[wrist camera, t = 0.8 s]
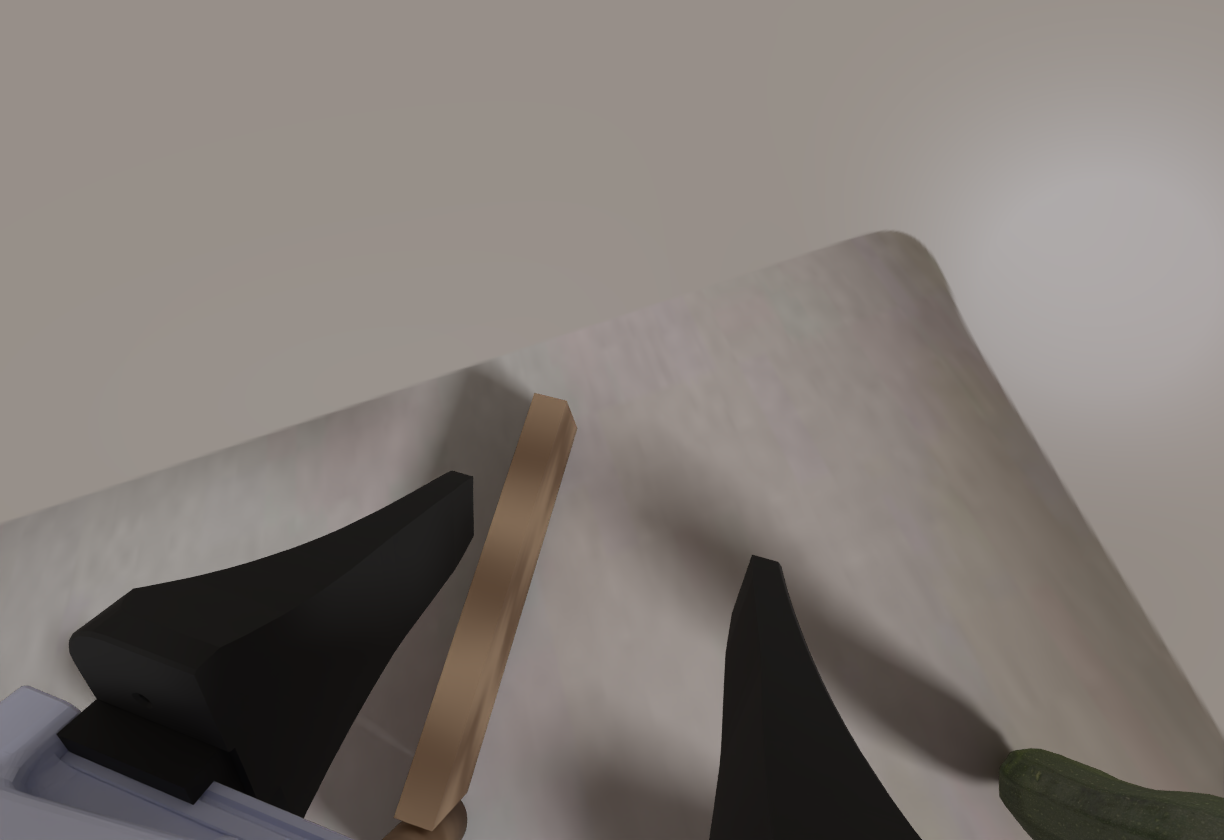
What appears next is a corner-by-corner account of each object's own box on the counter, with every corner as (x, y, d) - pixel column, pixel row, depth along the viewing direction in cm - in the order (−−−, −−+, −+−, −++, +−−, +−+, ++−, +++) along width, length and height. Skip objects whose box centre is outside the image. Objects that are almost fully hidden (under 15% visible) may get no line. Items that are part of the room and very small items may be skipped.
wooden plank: (456, 860, 25) (407, 930, 20) (407, 843, 25) (346, 906, 20) (584, 431, 31) (572, 397, 26) (543, 420, 31) (523, 384, 26)
